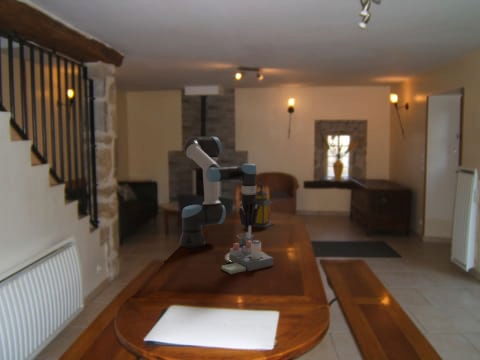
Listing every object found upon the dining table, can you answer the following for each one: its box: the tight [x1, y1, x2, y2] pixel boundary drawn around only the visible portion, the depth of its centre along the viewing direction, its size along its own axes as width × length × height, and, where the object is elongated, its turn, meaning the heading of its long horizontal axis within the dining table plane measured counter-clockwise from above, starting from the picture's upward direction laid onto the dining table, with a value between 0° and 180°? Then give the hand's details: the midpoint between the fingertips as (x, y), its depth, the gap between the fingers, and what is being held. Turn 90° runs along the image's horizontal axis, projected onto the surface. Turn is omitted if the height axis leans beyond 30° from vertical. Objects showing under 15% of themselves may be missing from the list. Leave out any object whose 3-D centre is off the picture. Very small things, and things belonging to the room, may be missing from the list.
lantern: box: [252, 183, 274, 229], centre depth 297 cm, size 14×14×30 cm
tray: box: [221, 263, 247, 275], centre depth 202 cm, size 9×9×2 cm
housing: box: [228, 246, 274, 272], centre depth 212 cm, size 18×15×7 cm
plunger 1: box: [232, 242, 239, 250], centre depth 213 cm, size 3×3×4 cm
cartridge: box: [251, 239, 262, 260], centre depth 208 cm, size 5×5×13 cm
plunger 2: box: [246, 240, 253, 248], centre depth 218 cm, size 3×3×4 cm
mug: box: [236, 233, 254, 251], centre depth 228 cm, size 12×9×11 cm
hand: (248, 237), depth 218 cm, fingers closed
